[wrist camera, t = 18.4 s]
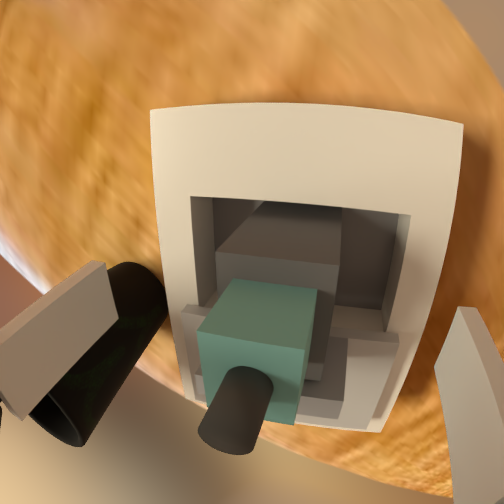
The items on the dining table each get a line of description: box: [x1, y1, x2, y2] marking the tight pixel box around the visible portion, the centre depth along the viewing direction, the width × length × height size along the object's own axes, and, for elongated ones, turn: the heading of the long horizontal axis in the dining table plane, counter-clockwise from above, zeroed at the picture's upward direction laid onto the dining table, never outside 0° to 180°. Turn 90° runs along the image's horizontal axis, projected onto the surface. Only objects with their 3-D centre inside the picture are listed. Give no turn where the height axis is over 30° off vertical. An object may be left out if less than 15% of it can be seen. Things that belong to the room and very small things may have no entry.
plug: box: [196, 200, 342, 455], centre depth 12 cm, size 5×4×12 cm
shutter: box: [181, 304, 400, 430], centre depth 15 cm, size 7×11×5 cm, turn 89°
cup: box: [28, 262, 169, 447], centre depth 18 cm, size 8×8×12 cm
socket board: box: [150, 103, 463, 432], centre depth 17 cm, size 19×14×4 cm
